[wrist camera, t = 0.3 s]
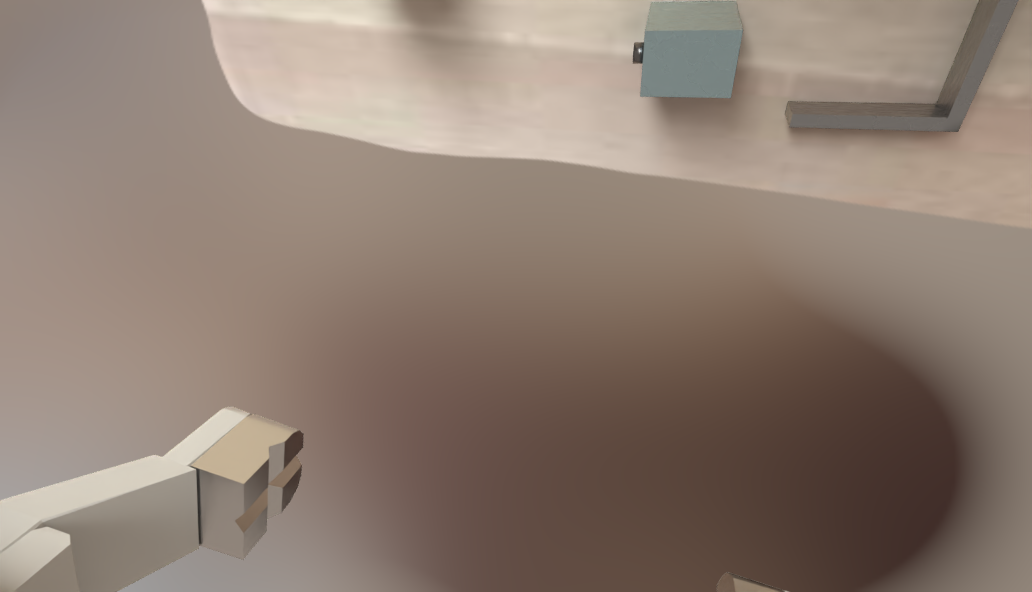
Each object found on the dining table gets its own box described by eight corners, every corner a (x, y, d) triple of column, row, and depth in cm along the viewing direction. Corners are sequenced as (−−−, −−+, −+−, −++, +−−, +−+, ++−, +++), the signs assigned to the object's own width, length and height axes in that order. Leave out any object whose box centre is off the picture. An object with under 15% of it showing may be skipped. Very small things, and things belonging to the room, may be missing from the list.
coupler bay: (785, 114, 52) (789, 127, 50) (829, -69, 43) (837, -63, 41) (945, 117, 49) (957, 131, 47) (1031, -78, 40) (1051, -72, 38)
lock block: (636, 61, 52) (629, 96, 45) (640, 2, 49) (633, 30, 42) (725, 61, 50) (730, 98, 44) (735, 0, 47) (742, 30, 41)
